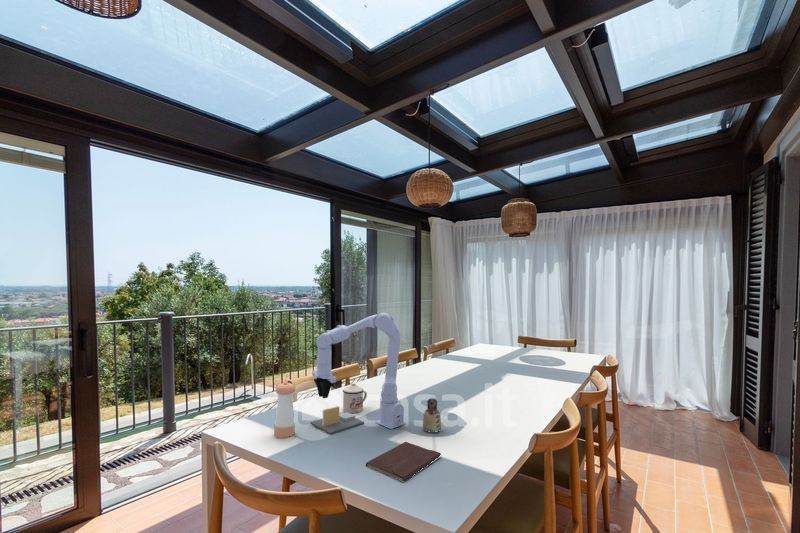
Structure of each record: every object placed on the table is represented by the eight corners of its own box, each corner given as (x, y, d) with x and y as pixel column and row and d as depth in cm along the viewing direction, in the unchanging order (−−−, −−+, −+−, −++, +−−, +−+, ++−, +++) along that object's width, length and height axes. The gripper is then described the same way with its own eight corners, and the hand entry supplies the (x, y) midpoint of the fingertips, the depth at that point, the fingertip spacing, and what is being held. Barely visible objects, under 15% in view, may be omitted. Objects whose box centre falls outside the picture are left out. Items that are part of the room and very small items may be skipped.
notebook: (365, 467, 116) (365, 460, 116) (404, 445, 132) (404, 440, 132) (404, 484, 107) (404, 477, 107) (441, 459, 122) (441, 452, 123)
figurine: (442, 427, 148) (442, 396, 148) (439, 434, 141) (439, 401, 142) (424, 425, 150) (425, 394, 150) (421, 431, 143) (421, 400, 143)
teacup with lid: (350, 415, 160) (351, 387, 160) (338, 409, 166) (338, 382, 167) (372, 408, 168) (372, 382, 168) (360, 403, 175) (360, 378, 175)
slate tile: (355, 418, 153) (355, 415, 153) (345, 421, 150) (345, 418, 150) (346, 414, 158) (346, 411, 158) (336, 417, 154) (336, 414, 154)
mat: (363, 423, 150) (364, 421, 150) (330, 434, 139) (330, 432, 139) (343, 414, 160) (343, 412, 160) (310, 424, 149) (310, 422, 149)
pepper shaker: (273, 431, 141) (275, 380, 142) (293, 429, 144) (294, 378, 145) (274, 439, 135) (275, 385, 135) (295, 436, 137) (296, 383, 138)
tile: (339, 422, 150) (339, 406, 150) (324, 426, 145) (324, 410, 145) (337, 421, 150) (337, 406, 151) (322, 425, 146) (322, 410, 146)
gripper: (306, 361, 155) (305, 394, 154) (325, 367, 144) (324, 403, 144) (321, 359, 160) (320, 391, 159) (340, 365, 149) (340, 399, 149)
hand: (323, 397), depth 152 cm, fingers closed
